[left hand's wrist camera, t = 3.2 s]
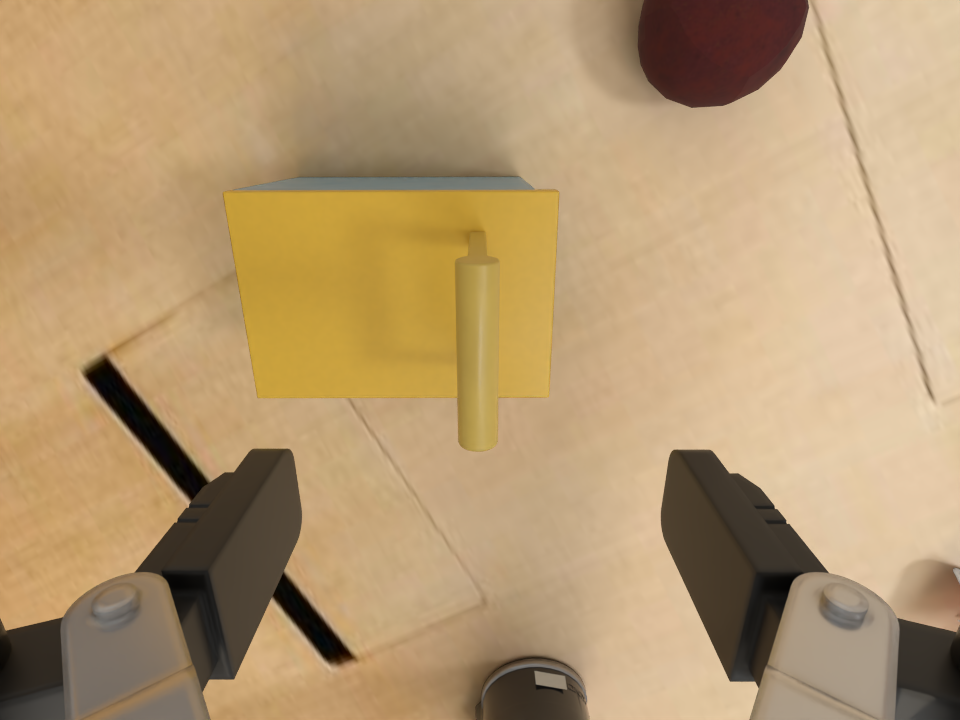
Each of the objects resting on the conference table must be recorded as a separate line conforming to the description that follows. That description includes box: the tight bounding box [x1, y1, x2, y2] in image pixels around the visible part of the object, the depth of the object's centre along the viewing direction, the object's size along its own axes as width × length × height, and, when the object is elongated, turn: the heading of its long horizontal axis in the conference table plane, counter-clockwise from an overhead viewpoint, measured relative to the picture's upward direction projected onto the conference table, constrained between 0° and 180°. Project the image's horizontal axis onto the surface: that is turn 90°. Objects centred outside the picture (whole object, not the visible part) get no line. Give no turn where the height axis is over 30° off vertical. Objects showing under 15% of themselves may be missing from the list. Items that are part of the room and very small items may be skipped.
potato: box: [638, 0, 809, 108], centre depth 27 cm, size 7×8×7 cm
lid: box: [223, 190, 559, 452], centre depth 22 cm, size 14×10×8 cm
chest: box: [235, 177, 535, 190], centre depth 30 cm, size 14×10×10 cm
